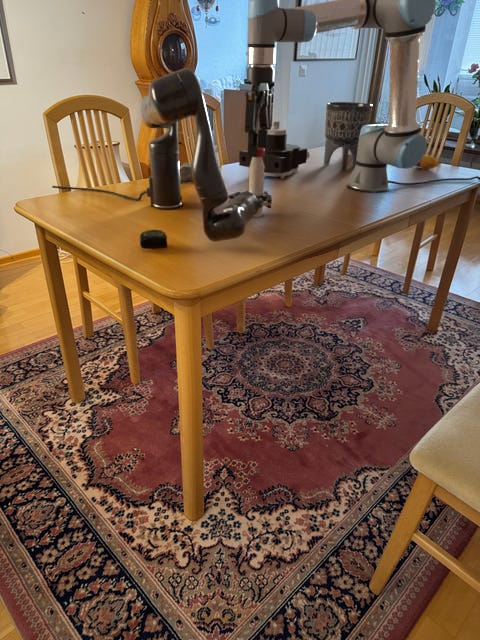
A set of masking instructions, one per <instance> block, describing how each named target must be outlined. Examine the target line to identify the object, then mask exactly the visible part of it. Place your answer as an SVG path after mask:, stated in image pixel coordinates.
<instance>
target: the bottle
mask: <svg viewBox="0 0 480 640" xmlns="http://www.w3.org/2000/svg"><path fill="white" fill-rule="evenodd" d="M248 172H249V173H248V190H249V192H250V193H252V194H254V195H257V194H263V193H264V185H265V184H264V183H265V177H264V164H263V160H262V157H252V160H251V163H250V167H248ZM263 209H264V206H262V207H261V208H259V210H258V211H257V213H256V214H255V215H254V216H253V217H252V218H261V217H262V216H263Z"/></svg>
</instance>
